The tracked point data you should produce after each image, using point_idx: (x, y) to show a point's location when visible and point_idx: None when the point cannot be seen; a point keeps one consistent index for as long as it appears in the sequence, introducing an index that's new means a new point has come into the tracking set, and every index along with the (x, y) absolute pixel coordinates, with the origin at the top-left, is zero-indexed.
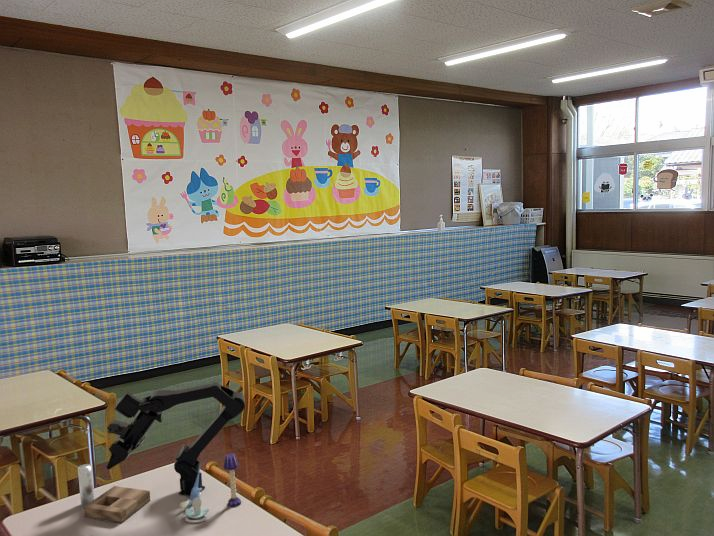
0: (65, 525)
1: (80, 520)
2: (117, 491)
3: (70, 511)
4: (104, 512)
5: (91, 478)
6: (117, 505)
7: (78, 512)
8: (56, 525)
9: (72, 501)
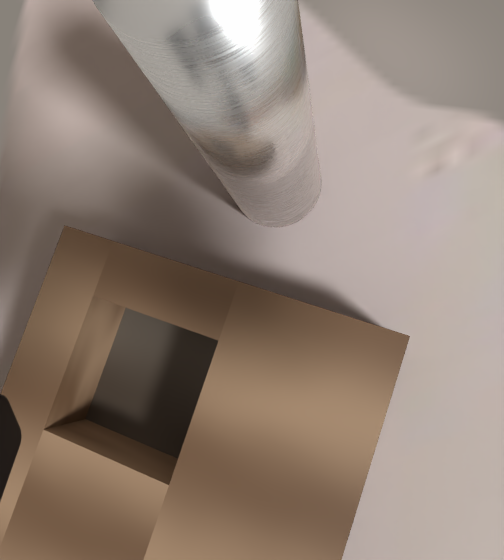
0: (35, 170)
1: None
2: (292, 411)
3: None
4: None
5: (226, 138)
6: (45, 499)
7: (175, 173)
8: (43, 118)
9: (329, 55)
